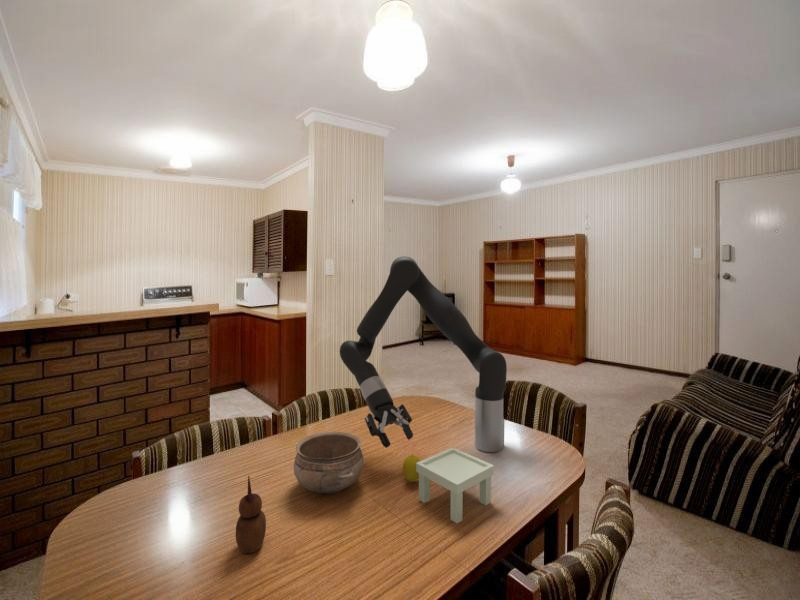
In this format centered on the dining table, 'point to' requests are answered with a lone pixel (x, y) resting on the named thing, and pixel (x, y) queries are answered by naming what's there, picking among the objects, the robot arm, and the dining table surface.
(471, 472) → the stool
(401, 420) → the robot arm
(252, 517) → the wooden figurine
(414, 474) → the lemon
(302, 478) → the cooking pot
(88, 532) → the dining table surface
